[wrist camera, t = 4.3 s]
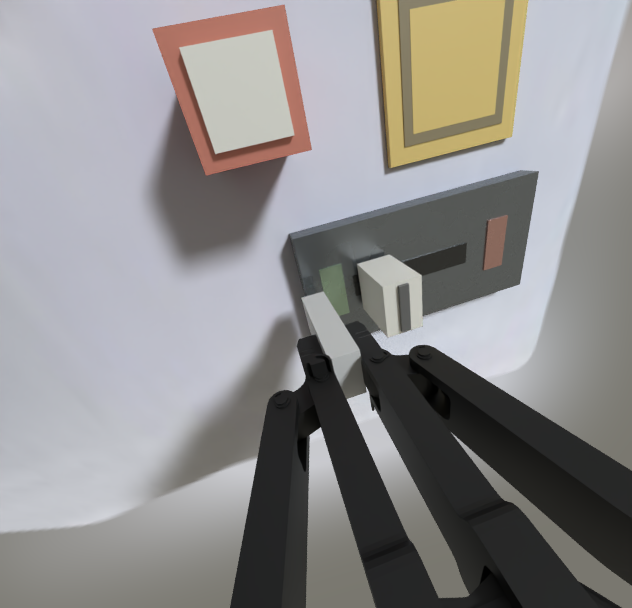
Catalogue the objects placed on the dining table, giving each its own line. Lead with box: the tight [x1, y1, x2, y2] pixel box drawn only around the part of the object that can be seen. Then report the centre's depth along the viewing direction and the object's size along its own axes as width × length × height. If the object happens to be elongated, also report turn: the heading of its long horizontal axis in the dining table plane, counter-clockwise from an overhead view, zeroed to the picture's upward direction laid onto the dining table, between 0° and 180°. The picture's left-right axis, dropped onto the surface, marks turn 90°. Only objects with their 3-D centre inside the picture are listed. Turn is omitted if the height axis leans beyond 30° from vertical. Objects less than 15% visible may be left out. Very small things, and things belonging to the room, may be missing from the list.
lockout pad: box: [376, 0, 528, 168], centre depth 17 cm, size 9×9×1 cm
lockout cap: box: [152, 5, 312, 175], centre depth 13 cm, size 4×4×6 cm
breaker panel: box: [289, 170, 539, 333], centre depth 22 cm, size 18×9×2 cm, turn 102°
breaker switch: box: [357, 255, 423, 338], centre depth 19 cm, size 2×4×4 cm, turn 12°
